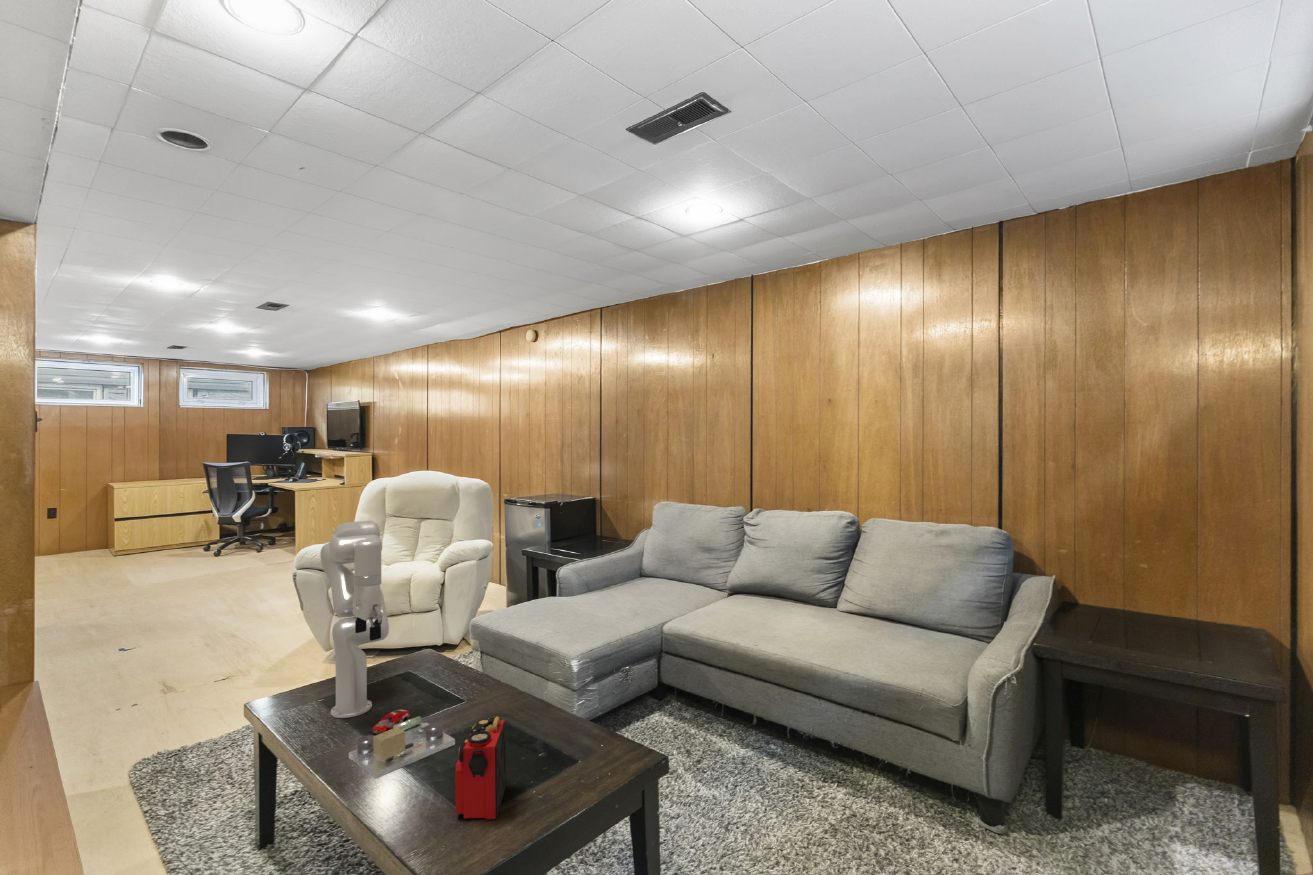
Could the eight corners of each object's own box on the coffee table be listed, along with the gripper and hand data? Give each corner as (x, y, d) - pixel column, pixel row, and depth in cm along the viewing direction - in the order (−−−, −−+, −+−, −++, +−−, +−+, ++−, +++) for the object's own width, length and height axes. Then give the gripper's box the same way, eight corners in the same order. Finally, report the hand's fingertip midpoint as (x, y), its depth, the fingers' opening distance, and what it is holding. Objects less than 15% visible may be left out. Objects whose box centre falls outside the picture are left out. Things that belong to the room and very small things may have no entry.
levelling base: (348, 757, 176) (348, 736, 176) (426, 727, 194) (426, 708, 194) (375, 778, 165) (375, 756, 165) (455, 744, 183) (454, 724, 183)
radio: (468, 787, 160) (468, 711, 161) (507, 785, 161) (507, 710, 161) (453, 824, 145) (453, 741, 145) (497, 822, 146) (496, 739, 146)
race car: (382, 738, 188) (382, 725, 188) (368, 735, 190) (368, 722, 190) (412, 719, 201) (412, 707, 201) (399, 716, 203) (399, 704, 203)
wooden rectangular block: (381, 764, 168) (381, 741, 168) (373, 759, 171) (373, 736, 171) (416, 749, 177) (416, 726, 177) (408, 744, 179) (408, 722, 179)
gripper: (343, 577, 188) (343, 632, 188) (368, 587, 177) (368, 645, 177) (367, 573, 194) (367, 626, 194) (393, 582, 183) (393, 638, 183)
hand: (368, 635), depth 186 cm, fingers open, 9 cm apart
